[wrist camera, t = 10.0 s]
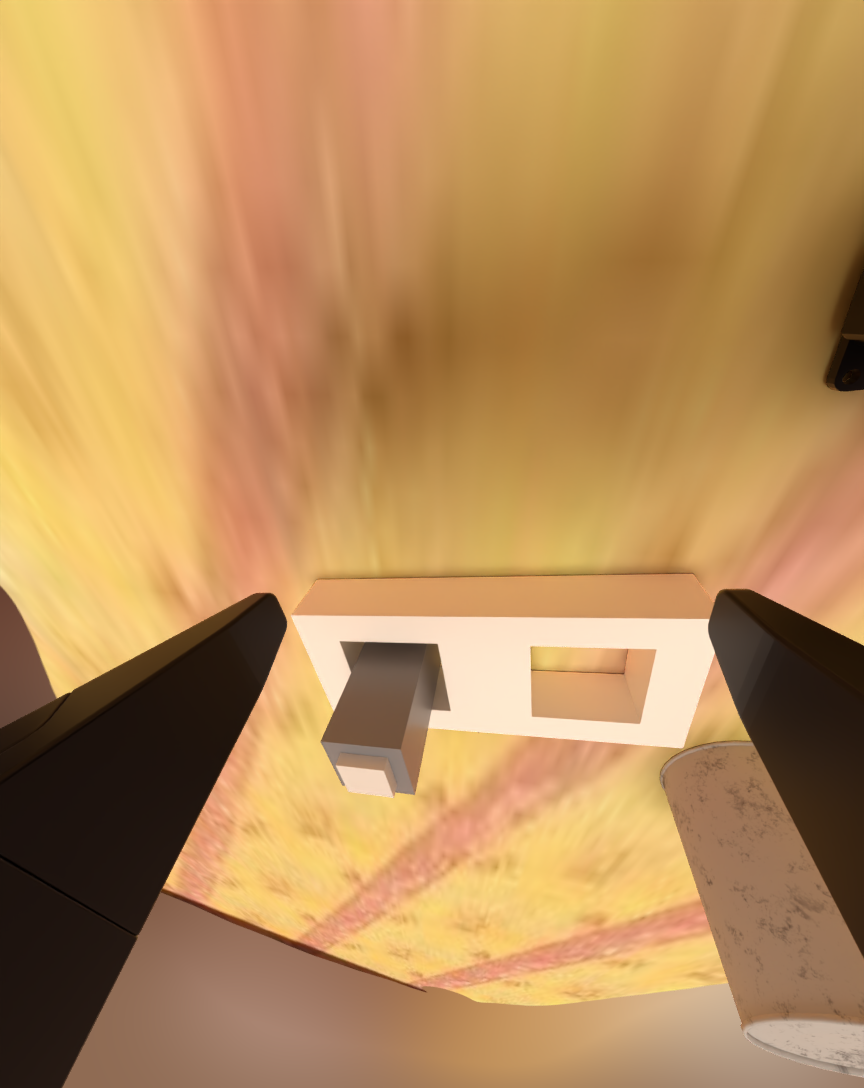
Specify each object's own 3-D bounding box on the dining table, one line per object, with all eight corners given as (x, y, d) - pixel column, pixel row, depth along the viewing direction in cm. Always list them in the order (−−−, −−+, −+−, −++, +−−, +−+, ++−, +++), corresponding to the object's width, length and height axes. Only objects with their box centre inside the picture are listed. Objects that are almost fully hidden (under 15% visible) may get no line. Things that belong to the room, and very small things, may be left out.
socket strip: (692, 573, 19) (725, 619, 16) (660, 700, 24) (681, 752, 22) (317, 579, 24) (290, 615, 21) (356, 683, 29) (339, 724, 27)
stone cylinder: (633, 783, 30) (699, 1027, 20) (720, 723, 25) (872, 1013, 14) (739, 823, 30) (859, 1085, 20) (848, 772, 25) (1087, 1091, 15)
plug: (434, 614, 24) (397, 763, 16) (441, 657, 26) (412, 807, 18) (377, 613, 25) (315, 754, 17) (388, 655, 27) (338, 797, 19)
